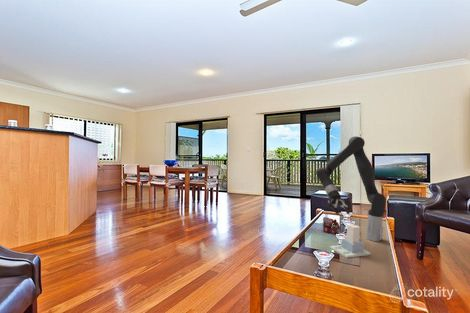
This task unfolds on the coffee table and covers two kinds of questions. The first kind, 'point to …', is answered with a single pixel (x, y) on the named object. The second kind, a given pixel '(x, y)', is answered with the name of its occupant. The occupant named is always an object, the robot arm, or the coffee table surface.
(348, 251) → the building plate
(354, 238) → the cream column brick
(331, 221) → the dark red irregular lump
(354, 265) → the coffee table surface
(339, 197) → the robot arm
